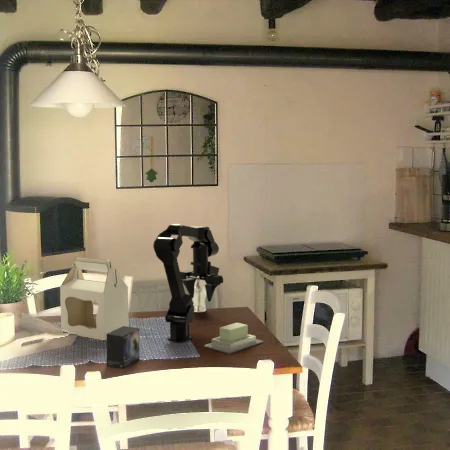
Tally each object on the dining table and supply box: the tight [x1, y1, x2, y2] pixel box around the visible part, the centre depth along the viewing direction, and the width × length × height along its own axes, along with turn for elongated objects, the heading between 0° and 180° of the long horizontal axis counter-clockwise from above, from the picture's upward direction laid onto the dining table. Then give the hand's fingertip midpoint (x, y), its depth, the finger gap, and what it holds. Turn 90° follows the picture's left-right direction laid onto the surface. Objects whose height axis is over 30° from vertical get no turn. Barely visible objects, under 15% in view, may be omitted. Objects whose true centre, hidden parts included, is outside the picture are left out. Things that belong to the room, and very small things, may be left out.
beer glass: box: [192, 277, 207, 313], centre depth 266 cm, size 7×7×15 cm
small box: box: [105, 326, 140, 369], centre depth 197 cm, size 11×6×10 cm, turn 158°
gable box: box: [59, 256, 130, 341], centre depth 232 cm, size 22×13×28 cm, turn 59°
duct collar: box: [202, 333, 264, 355], centre depth 217 cm, size 18×12×2 cm, turn 137°
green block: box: [219, 322, 249, 343], centre depth 217 cm, size 5×9×6 cm, turn 138°
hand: (200, 299), depth 238 cm, fingers open, 9 cm apart
